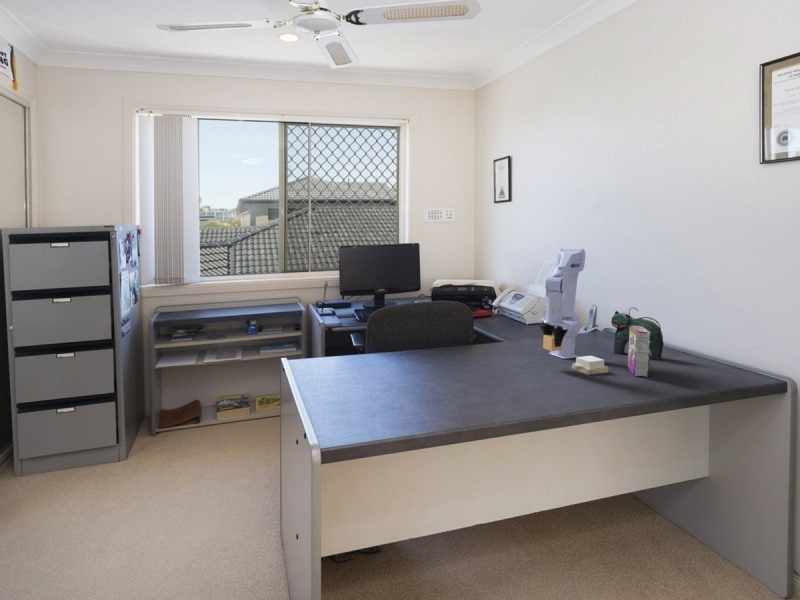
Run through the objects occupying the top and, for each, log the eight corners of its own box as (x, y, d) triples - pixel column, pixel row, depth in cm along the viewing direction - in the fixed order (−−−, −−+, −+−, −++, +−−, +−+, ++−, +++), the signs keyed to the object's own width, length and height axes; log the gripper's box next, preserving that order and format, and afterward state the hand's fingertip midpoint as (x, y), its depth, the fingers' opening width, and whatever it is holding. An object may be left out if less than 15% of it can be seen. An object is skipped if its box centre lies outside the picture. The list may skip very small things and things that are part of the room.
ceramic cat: (608, 353, 220) (611, 306, 217) (614, 350, 224) (616, 304, 221) (659, 361, 207) (663, 311, 204) (664, 358, 212) (667, 309, 209)
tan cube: (543, 348, 198) (543, 335, 197) (553, 346, 200) (554, 334, 199) (551, 351, 193) (551, 337, 193) (562, 349, 195) (563, 336, 194)
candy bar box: (626, 368, 197) (629, 325, 195) (640, 368, 196) (643, 325, 194) (633, 376, 186) (636, 331, 184) (648, 377, 185) (651, 332, 183)
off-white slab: (575, 363, 196) (576, 357, 196) (590, 361, 199) (590, 355, 198) (589, 368, 190) (589, 361, 189) (604, 366, 192) (604, 360, 192)
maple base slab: (571, 370, 197) (572, 363, 196) (590, 367, 200) (591, 361, 200) (588, 376, 189) (589, 369, 188) (608, 373, 192) (608, 367, 192)
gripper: (533, 306, 199) (532, 341, 201) (558, 313, 186) (556, 350, 188) (549, 305, 202) (547, 340, 204) (574, 311, 189) (572, 348, 191)
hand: (553, 344), depth 196 cm, fingers closed on tan cube, 5 cm apart
